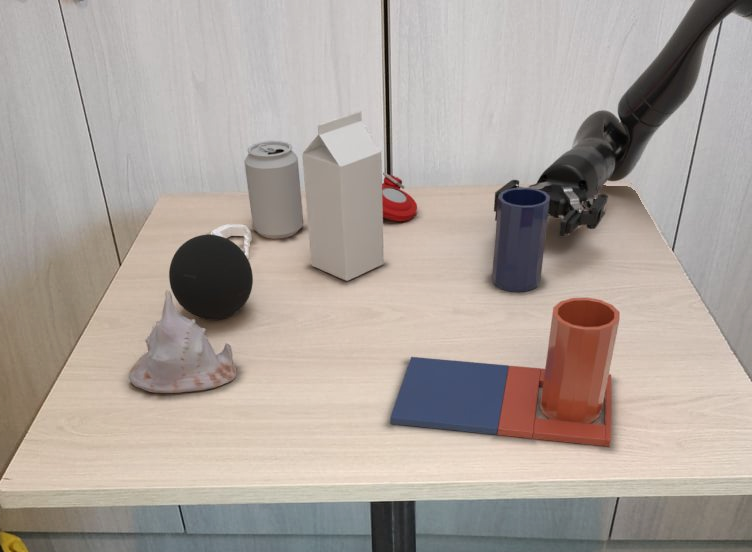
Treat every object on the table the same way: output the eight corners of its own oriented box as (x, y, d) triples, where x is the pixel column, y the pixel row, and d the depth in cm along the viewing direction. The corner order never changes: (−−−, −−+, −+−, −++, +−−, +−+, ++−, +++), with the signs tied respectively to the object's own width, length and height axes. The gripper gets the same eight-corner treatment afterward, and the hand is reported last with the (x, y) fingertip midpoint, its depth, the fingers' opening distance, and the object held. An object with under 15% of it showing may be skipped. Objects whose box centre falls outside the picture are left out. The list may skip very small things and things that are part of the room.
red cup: (601, 394, 86) (619, 299, 79) (600, 429, 82) (619, 332, 74) (542, 388, 87) (554, 294, 80) (538, 422, 83) (551, 326, 75)
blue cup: (541, 271, 108) (551, 188, 100) (538, 293, 103) (548, 208, 96) (494, 268, 109) (501, 186, 102) (489, 290, 104) (496, 205, 97)
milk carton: (384, 264, 111) (381, 116, 98) (346, 282, 107) (338, 131, 95) (348, 250, 115) (341, 105, 102) (311, 266, 111) (298, 119, 98)
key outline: (268, 263, 112) (266, 251, 111) (233, 270, 111) (231, 258, 110) (241, 228, 121) (240, 217, 120) (209, 235, 120) (207, 223, 119)
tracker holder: (429, 211, 121) (368, 206, 117) (419, 237, 124) (359, 233, 120) (404, 166, 127) (345, 160, 124) (395, 192, 131) (338, 186, 127)
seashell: (146, 347, 96) (128, 274, 90) (245, 347, 96) (234, 273, 89) (122, 395, 89) (100, 318, 83) (229, 396, 88) (216, 319, 82)
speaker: (181, 340, 97) (165, 262, 91) (174, 303, 105) (158, 227, 98) (263, 327, 99) (253, 249, 92) (250, 291, 106) (240, 216, 100)
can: (284, 244, 117) (275, 159, 109) (243, 234, 120) (231, 150, 112) (313, 225, 121) (307, 142, 113) (273, 216, 124) (264, 134, 116)
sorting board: (609, 380, 88) (611, 374, 88) (609, 446, 79) (611, 440, 79) (411, 362, 92) (411, 356, 92) (390, 424, 83) (390, 417, 83)
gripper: (527, 147, 114) (481, 185, 104) (627, 161, 109) (589, 203, 99) (522, 200, 119) (477, 241, 109) (617, 216, 114) (580, 262, 104)
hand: (530, 223), depth 104 cm, fingers open, 8 cm apart
